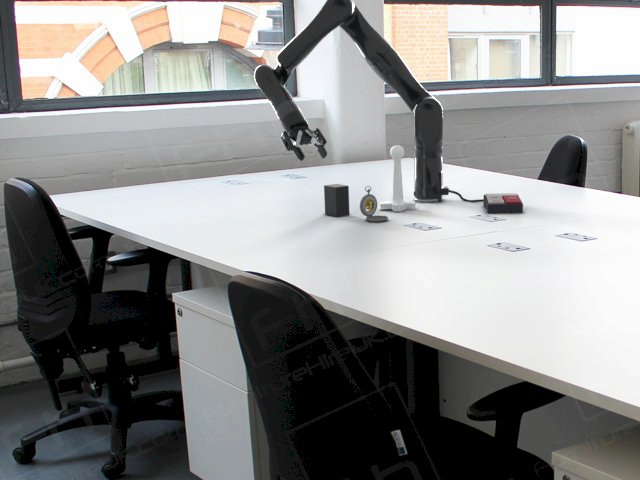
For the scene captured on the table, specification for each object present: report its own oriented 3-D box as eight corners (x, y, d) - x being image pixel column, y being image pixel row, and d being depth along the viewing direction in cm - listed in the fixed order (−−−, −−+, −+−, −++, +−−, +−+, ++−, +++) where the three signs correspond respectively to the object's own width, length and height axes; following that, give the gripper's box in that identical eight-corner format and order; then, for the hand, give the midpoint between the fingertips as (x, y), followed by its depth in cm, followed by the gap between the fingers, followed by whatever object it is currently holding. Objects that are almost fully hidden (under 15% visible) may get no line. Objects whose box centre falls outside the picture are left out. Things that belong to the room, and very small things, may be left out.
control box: (487, 202, 324) (483, 192, 337) (487, 215, 325) (483, 205, 339) (523, 201, 324) (517, 191, 338) (522, 215, 325) (517, 204, 339)
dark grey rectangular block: (324, 214, 328) (323, 185, 325) (337, 212, 331) (336, 183, 328) (336, 217, 324) (335, 187, 321) (349, 215, 327) (348, 185, 324)
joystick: (415, 207, 338) (414, 144, 331) (416, 211, 330) (415, 146, 324) (380, 208, 337) (379, 144, 331) (380, 212, 330) (379, 147, 323)
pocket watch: (385, 222, 313) (384, 188, 310) (358, 222, 315) (357, 188, 311) (391, 218, 321) (390, 184, 317) (364, 217, 322) (363, 184, 319)
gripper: (277, 111, 327) (300, 151, 323) (314, 108, 336) (337, 148, 331) (268, 127, 333) (290, 167, 328) (305, 124, 341) (327, 163, 337)
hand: (314, 157), depth 330 cm, fingers open, 8 cm apart
